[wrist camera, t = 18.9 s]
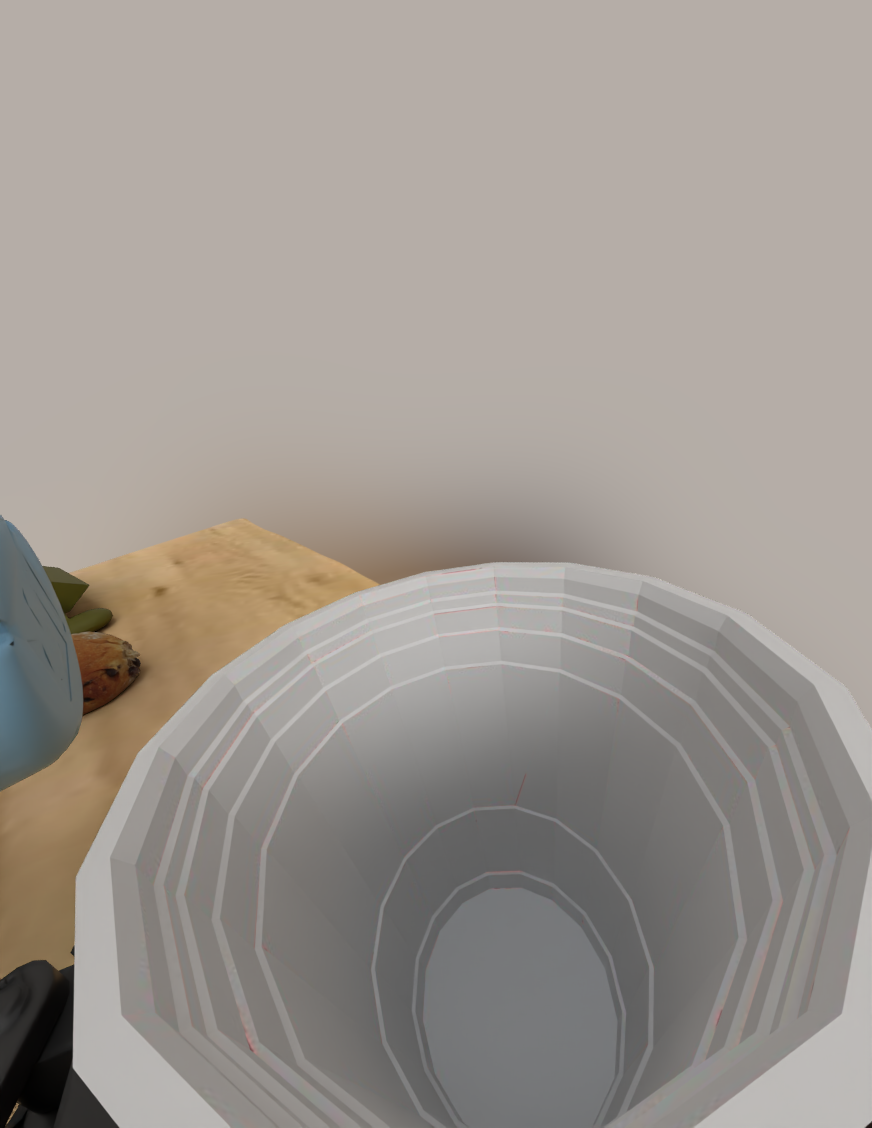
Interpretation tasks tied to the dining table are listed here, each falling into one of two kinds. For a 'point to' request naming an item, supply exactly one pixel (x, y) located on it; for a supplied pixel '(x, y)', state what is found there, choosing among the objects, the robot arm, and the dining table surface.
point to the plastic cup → (490, 873)
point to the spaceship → (69, 594)
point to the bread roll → (104, 667)
